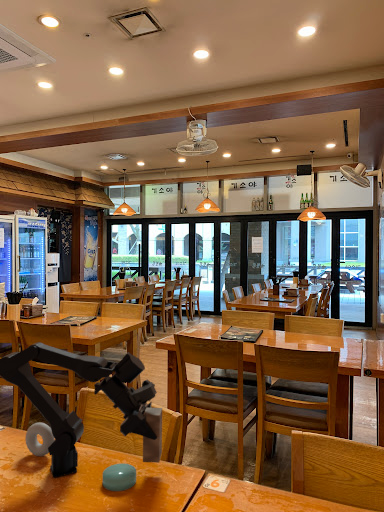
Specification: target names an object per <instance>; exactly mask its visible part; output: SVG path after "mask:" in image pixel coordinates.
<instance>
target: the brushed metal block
mask: <svg viewBox="0 0 384 512" xmlns="http://www.w3.org/2000/svg"><path fill="white" fill-rule="evenodd" d="M145 414H146V421H147V423H148V424H149V426H150V427H151V428H152V430H153V431H154V433H155V434H156V436H157V438H156V439H155V440H153V439H150V438H147V437H144V436H142V462H143V463H158V464H159V463H160V460H161V457H162V453H163V407H151V408H146V410H145V412H144V414H143V416H144V415H145Z"/></svg>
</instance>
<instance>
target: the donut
mask: <svg viewBox="0 0 384 512" xmlns="http://www.w3.org/2000/svg"><path fill="white" fill-rule="evenodd" d="M38 436H40V437H41V438H42V443H40V442H39V440H38ZM24 440H25V445H26V447H27V449H28V450H29V452H30V453H31V454H32V455H34V456H36V457H43V456H46V455H48V454H49V451H48V447H49V446H50V445H51V444H52V443H53V442H54V440H55V438H54V436H53V434H52V430H51V426H50V425H48V424H46V423H44V422H35V423H33V424H31V426H29V427H28V429H27V431H26V433H25V439H24Z"/></svg>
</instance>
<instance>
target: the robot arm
mask: <svg viewBox="0 0 384 512" xmlns="http://www.w3.org/2000/svg"><path fill="white" fill-rule="evenodd" d="M32 360H37V361H41V362H44V363H48V364H50V365H53V366H58V367H60V368H63V369H66V370H69V371H72V372H74V373H75V374H76V375H78V376H79V377H80V378H82V379H84V380H86V381H87V382H90V383H94V385H93V387H94V391H93V394H94V395H95V396H96V395H97V394H98V393H99V392H101V391H102V392H103V393H104V395H105V396H106V397H107V398H108V399H109V401H111V402H112V403H113V406H112V407H113V409H115V410H116V409H117V408H118V409H119V411H121V413H122V414H123V416H122V418H123V419H124V420H123V421H122V422H121V424H120V426H119V431H120V433H121V434H122V435H123V436H124V437H127V435H129V434H135V435H138V436H141V437H143V436H144V437H147V438H150V439H153V440H155V439H156V438H157V436H156V434H155V433H154V431H153V430H152V428H151V427H150V426H149V424H148V423H147V421H146V414H145V415H144V416H143V414H144V412H145V410H146V408H152V401H151V400H152V399H154V398H156V394H157V392H158V391H157V390H156V388H155V386H156V385H155V384H154V383H153V381H150V380H149V379H145V380H143V381H142V382H141V386H139V388H136V389H135V388H134V387H133V386H130V387H128V386H127V383H128V384H131V383H132V382H134V381H135V380H136V379H137V377H139V375H140V374H142V373H143V372H144V371H145V369H146V368H145V365H144V362H143V361H142V360H141V359H140V358H139V357H137V356H135V355H134V354H131V353H130V352H126V354H125V355H124V356H123V357H122V359H121V360H120V361H119V362H115V361H111V360H110V361H109V360H107V359H106V358H105V357H103V356H97V355H96V356H95V355H81V354H80V355H79V354H77V353H73V352H70V351H67V350H64V349H60V348H57V347H54V346H50V345H47V344H44V343H42V342H39V341H37V342H35V343H33V344H31V345H29V346H28V347H27V348H25V349H23V350H21V351H14V352H10V353H9V354H7V355H5V356H2V357H0V377H1V378H2V379H3V380H5V381H6V382H8V383H9V384H13V385H14V386H17V387H18V388H19V389H20V391H21V392H22V393H23V394H24V395H25V397H26V398H27V399H28V400H29V401H30V403H31V404H32V405H33V406H34V407H35V408H36V409H37V411H38V412H39V414H41V415H42V416H43V418H44V419H45V420H46V421H47V422H48V424H49V427H50V428H51V430H52V434H53V436H54V442H53V443H52V444H51V445H50V446H49V447H48V451H49V453H48V454H49V456H51V457H50V458H51V459H50V460H51V462H50V463H51V464H50V466H49V469H50V471H51V474H52V478H59V477H63V476H66V475H71V474H75V473H78V469H77V467H78V463H79V462H78V460H79V458H78V456H79V453H78V450H77V448H76V446H75V445H76V444H77V442H78V440H79V439H80V438H81V437H82V436H83V434H84V430H85V425H84V424H83V422H82V421H83V419H82V418H80V417H79V416H78V414H77V413H76V411H74V410H72V411H71V412H70V413H69V412H67V411H65V410H64V409H63V408H62V407H61V406H60V405H59V404H58V402H57V401H55V399H54V398H53V397H52V396H51V395H50V393H49V392H48V391H47V390H46V388H45V387H44V386H43V385H42V384H41V382H40V381H39V380H37V378H36V377H35V376H34V374H33V372H32V368H31V365H30V363H29V362H30V361H32ZM113 372H114V374H113ZM111 374H113V375H112V376H110V375H111ZM102 378H104V379H102ZM100 380H101V381H100ZM99 381H100V382H99Z"/></svg>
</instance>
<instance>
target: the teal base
mask: <svg viewBox="0 0 384 512" xmlns="http://www.w3.org/2000/svg"><path fill="white" fill-rule="evenodd" d="M136 482H137V468H136V467H135V466H134V465H131V464H129V463H115V464H113V465H110V466H108V467H106V468H105V469H104V470H103V472H102V486H103V488H105V490H108V491H112V492H122V491H123V492H124V491H126V490H128V489H131V488H132V487H134V486H135V484H136Z"/></svg>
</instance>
